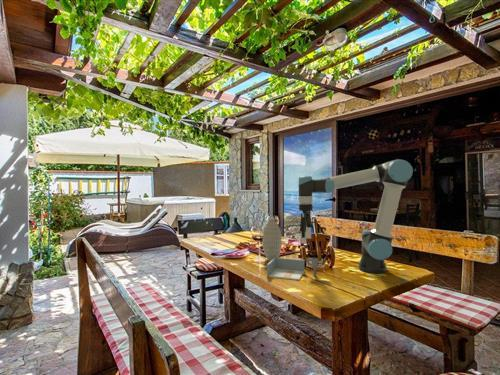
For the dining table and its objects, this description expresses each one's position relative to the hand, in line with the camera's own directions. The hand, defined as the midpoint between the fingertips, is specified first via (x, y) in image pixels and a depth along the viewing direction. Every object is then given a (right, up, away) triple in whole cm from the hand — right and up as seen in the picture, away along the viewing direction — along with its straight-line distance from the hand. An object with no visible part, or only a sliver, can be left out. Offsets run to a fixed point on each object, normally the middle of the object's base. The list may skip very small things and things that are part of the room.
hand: (306, 240), depth 168 cm
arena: (-11, -19, +1) cm, 22 cm away
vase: (-17, -19, +30) cm, 39 cm away
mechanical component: (+4, -19, -4) cm, 20 cm away
